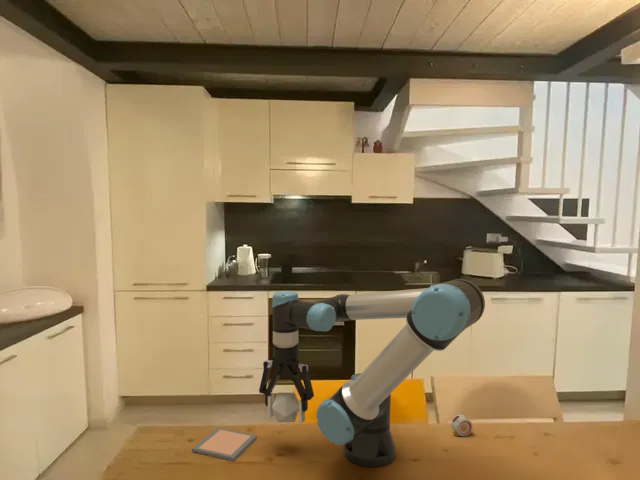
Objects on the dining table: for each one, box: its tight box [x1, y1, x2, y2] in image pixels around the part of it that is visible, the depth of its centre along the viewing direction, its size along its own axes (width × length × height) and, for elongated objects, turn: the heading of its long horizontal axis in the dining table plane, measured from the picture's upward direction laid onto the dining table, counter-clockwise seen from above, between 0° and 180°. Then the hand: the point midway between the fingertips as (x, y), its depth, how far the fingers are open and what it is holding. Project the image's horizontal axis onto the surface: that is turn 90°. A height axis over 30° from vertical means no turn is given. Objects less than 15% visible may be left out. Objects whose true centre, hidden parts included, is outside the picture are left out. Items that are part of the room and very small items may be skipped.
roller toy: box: [450, 414, 473, 437], centre depth 147 cm, size 4×6×6 cm
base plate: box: [191, 427, 258, 462], centre depth 139 cm, size 14×14×1 cm
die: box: [272, 391, 299, 423], centre depth 136 cm, size 8×9×10 cm
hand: (286, 418), depth 136 cm, fingers closed on die, 9 cm apart
